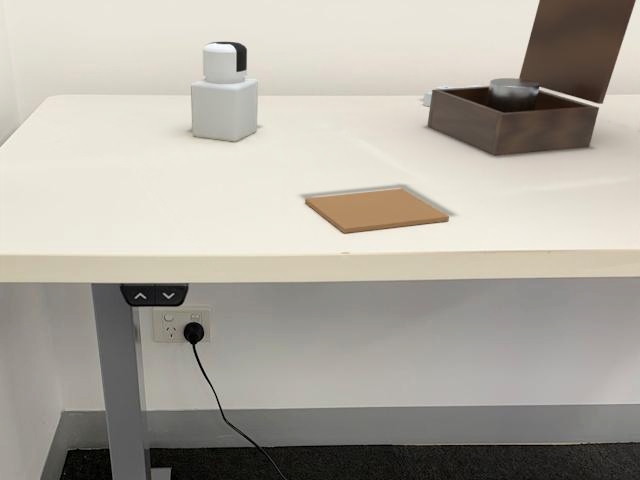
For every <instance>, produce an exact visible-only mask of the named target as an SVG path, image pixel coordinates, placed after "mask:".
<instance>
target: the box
mask: <svg viewBox="0 0 640 480" xmlns="http://www.w3.org/2000/svg"><path fill="white" fill-rule="evenodd" d="M483 86H484V85H483ZM489 86H490V85H487V86H486V85H485V86H484V87H468V88H452V89H436V88H435V89H432V90H431V92H432V96H431V103H430V106H429V111H428V119H427V127H428V128H430V129H432V130H435V131H436V132H439V133H441V134H444V135H446V136H448V137H450V138H453V139H455V140H457V141H460V142H462V143H464V144H466V145H469V146H471V147H474V148H476V149H479V150H480V151H482V152H485V153H488V154H490V155H492V156H494V157H497V156H498V157H499V156H509V155H517V154H519V155H520V154H531V153H539V152H540V153H541V152H553V151H562V150H572V149H584V148H590V146H591V141H592V139H593V135H594V134H593V133H594V130H595V126H596V122H597V118H598V115H599V110H600V107H599V106H596V105H593V104H592V105H591V104H589V103H585V102H582V101H579V100H576V99H572V98H568V97H565V96H562V95H558V94H555V93H551V92H548V91H544V90H540V89H539V91H538V96H537V101H536V106H535V110H534V111H523V112H510V113H503V112H500V111H497V110H494V109H492V108H489V107H486V103H487V98H488V92H489Z"/></svg>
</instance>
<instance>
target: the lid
mask: <svg viewBox="0 0 640 480" xmlns="http://www.w3.org/2000/svg"><path fill="white" fill-rule="evenodd" d="M636 1H637V0H538V6H537V9H536V13H535V16H534V19H533V25H532V27H531V31H530V35H529V39H528V43H527V47H526V49H525V50H526V51H525V54H524V58H523V63H522V66H521V70H520V72H519V73H520V74H519V78H518V79H525V80H531V81H535V82H538V83H539V84H540V86H539V88H542V89H546V90H549V91H553V92H555V93H559V94H563V95H567V96H570V97H574V98H577V99H580V100H584V101H588V102H591V103H594V104H597V105H603V104H604V100H605V97H606V95H607V91H608V88H609V85H610V82H611V79H612V76H613V73H614V70H615V67H616V64H617V61H618V57H619V54H620V51H621V49H622V45H623V41H624V39H625V36H626V34H627V33H626V32H627V30H628V26H629V23H630V21H631V17H632V13H633V11H634V8H635V4H636Z"/></svg>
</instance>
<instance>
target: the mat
mask: <svg viewBox="0 0 640 480" xmlns="http://www.w3.org/2000/svg"><path fill="white" fill-rule="evenodd" d="M304 204H306V205H307V206H308V207H310V208H311V209H312V210H314V211H315V212H316V213H317V214H319V215H320V216H321V217H323V218H324V219H325V220H326V221H328V222H329V223H330V224H332V225H333V226H334V227H336V228H337V229H338V230H339V231H340V232H341V233H343V234H348V233H357V232H366V231H374V230H383V229H393V228H400V227H407V226H409V227H410V226H415V225H416V226H418V225H426V224H434V223H443V222H449V220H450V216H449V215H448V214H446V213H444V212H443V211H441V210H439V209H437V208H436V207H435V206H432V205H431V204H429V203H427V202H425V201H424V200H422V199H421V198H419V197H417V196H415V194H412V193H410V192H409V191H407V190H405V189H404V188H394V189H393V188H392V189H384V190H374V191H364V192H354V193H345V194H344V193H343V194H335V195H325V196H315V197H306V198H304Z"/></svg>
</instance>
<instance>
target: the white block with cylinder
mask: <svg viewBox="0 0 640 480" xmlns="http://www.w3.org/2000/svg"><path fill="white" fill-rule="evenodd" d="M247 71H248V49H247V47H246V45H244V44H242V43H240V42H235V41H213V42H209V43H207V44H205V45H204V47H203V48H202V75H203V76H204V77H205V78H204V79H201V80H198V81H195V82H192V83H191V85H190V96H191V97H190V98H191V99H190V100H191V101H190V102H191V103H190V104H191V134H192V136H193V137H197V138H204V139H212V140H217V141H218V140H220V141H227V142H234V143H236V142H238V141H241V140H242V139H244V138H246V137H248V136H251V135H252V134H254V133H256V132H257V131H258V107H259V104H258V103H259V81H258V79H254V78H245V77H246V76H247V75H248V73H247Z"/></svg>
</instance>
